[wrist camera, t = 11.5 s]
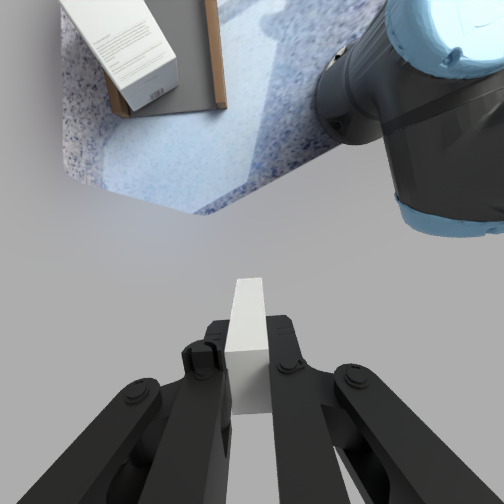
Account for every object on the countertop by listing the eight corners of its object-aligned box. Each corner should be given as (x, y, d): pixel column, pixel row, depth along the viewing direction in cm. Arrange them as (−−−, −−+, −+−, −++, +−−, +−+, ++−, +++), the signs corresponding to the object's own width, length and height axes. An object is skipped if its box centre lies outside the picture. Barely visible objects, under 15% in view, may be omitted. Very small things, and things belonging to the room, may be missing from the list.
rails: (215, -8, 36) (212, -25, 33) (227, 108, 40) (225, 102, 38) (99, 5, 37) (86, -11, 34) (122, 118, 41) (112, 112, 38)
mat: (204, -7, 36) (204, -10, 36) (217, 109, 40) (216, 108, 40) (110, 4, 37) (108, 1, 36) (132, 117, 41) (130, 116, 40)
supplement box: (180, 85, 39) (118, -21, 34) (178, 57, 31) (95, -90, 26) (133, 113, 39) (63, 9, 33) (118, 91, 30) (20, -52, 25)
